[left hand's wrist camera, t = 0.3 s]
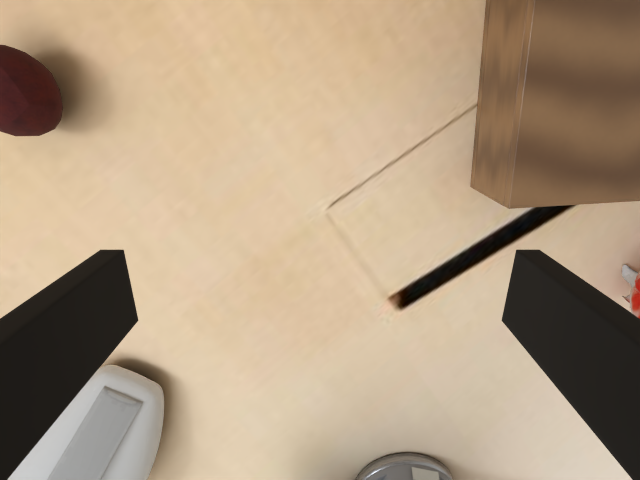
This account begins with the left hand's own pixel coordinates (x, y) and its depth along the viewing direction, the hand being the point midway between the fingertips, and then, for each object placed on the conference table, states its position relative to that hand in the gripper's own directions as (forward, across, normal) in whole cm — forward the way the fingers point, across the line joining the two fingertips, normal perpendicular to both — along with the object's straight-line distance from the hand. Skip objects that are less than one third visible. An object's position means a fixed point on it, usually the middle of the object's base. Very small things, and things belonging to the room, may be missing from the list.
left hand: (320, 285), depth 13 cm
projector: (+28, +29, +36) cm, 54 cm away
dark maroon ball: (+28, +27, -6) cm, 39 cm away
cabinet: (+28, -21, -7) cm, 36 cm away
